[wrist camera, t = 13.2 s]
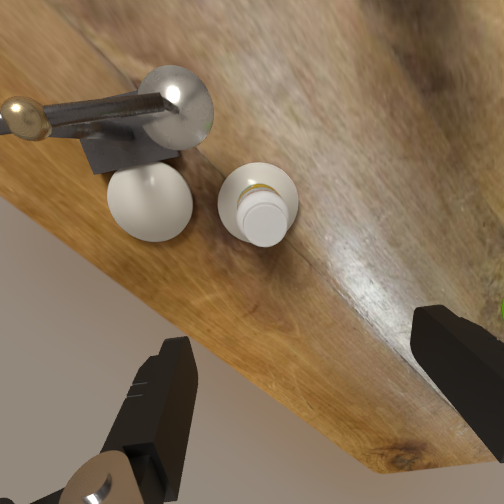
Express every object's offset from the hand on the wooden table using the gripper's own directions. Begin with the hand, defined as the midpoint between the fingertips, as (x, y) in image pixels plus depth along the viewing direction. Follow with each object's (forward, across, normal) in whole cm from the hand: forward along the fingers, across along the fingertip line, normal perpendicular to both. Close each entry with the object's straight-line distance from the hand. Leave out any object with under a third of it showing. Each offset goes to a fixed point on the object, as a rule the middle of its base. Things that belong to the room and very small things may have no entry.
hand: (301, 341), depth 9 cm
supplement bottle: (+25, 0, 0) cm, 25 cm away
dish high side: (+26, +13, -2) cm, 29 cm away
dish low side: (+26, 0, 0) cm, 26 cm away
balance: (+26, +14, -10) cm, 31 cm away
